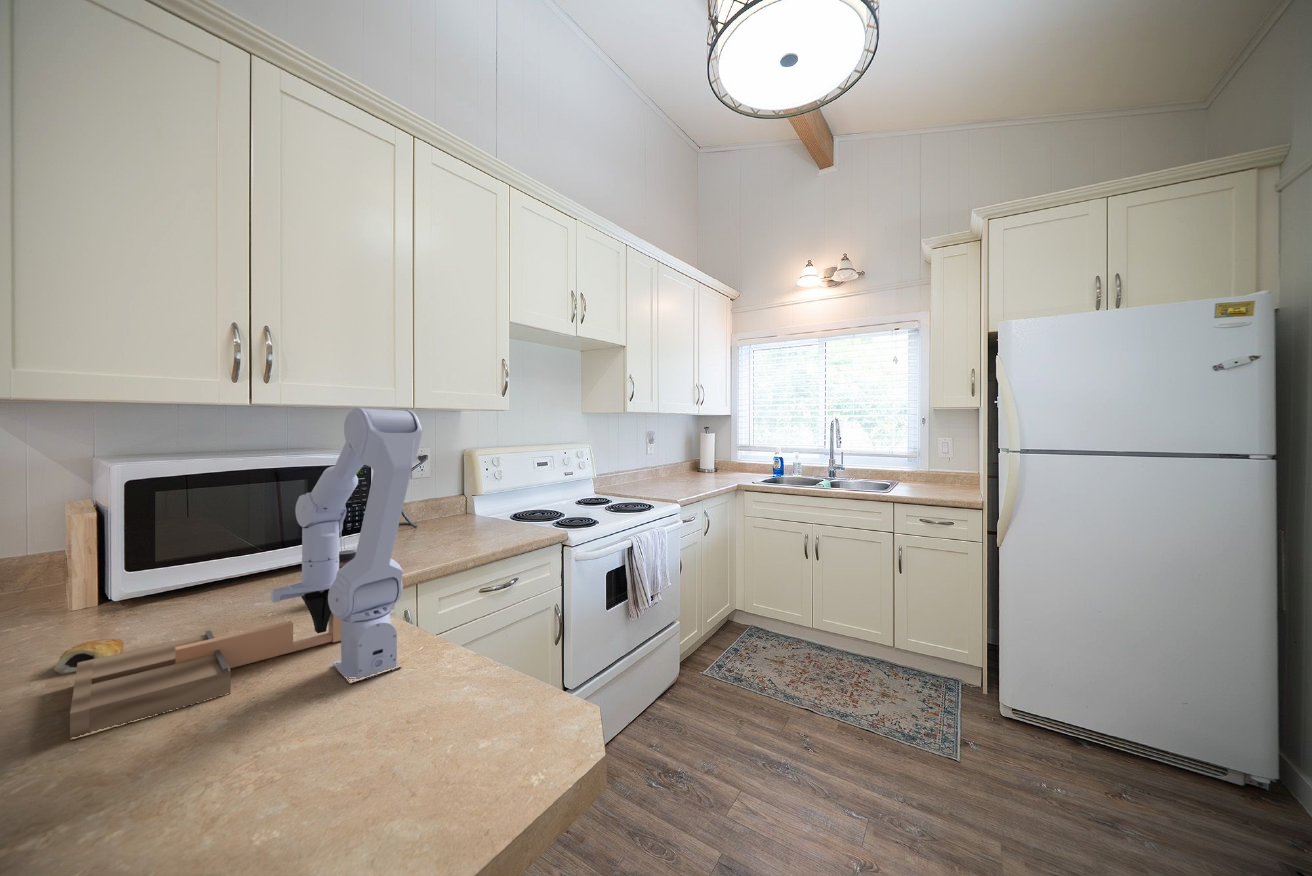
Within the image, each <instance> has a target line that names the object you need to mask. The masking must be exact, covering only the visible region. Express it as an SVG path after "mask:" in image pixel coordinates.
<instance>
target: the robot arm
mask: <svg viewBox="0 0 1312 876" xmlns="http://www.w3.org/2000/svg"><path fill="white" fill-rule="evenodd" d="M422 428H423V427H422V425H421V423H420V420H419V417H418V416H417V414H416V413H415V412H414V411H413V410H410V409H402V410H398V409H396V410H395V409H377V408H363V407H359V406H358V407H353V408H351V409H350V411H349V412H348V414H347V415H346V417H345V420H344V423H343V433H344V439H345V443H344V445H343V447H342V450H341V452H340V454H339V456H338V458H337V460H336V462H335V465H333V466H332V465H331V466H329V467H327V468H325V469H324V471H323V472H322V474H321V475H320V476H319V478H318V480H317V482H316V484H315V486H314V487H313V489H312V490H311V492H306V493H305V494H301V495H300V496H298V498H297V501H296V503H295V509H294V510H295V518H296V521H297V524H298V525H299V526H300V527H301V528H302V529H301V534H302V535H301V541H302V542H301V581H300V582H297V583H294V584H290V585H285V586H283V587H277V588H274V589H270V601H271V603H273V604H274V603H280V602H281V601H285V600H289V599H294V598H300V597H301V599H302V601H303V602H304V604H305V605H306V607H307V610H308V611H309V613H310V616H311V619H312V622H313V627H314V632H315V633H317V634H323V633H325V632H327V630H328V629H327V628H328V621H329V618H330V615H331V613H333V615H335V616H336V617H337V618H339V619H341V640H340V644H341V645H340V655H341V656H340V659H339V660H335V661H334V662H332V666H333V665H334V666H335V667H336V668H337V669H336V668H335V667H334V666H333V667H334V668H335V669H336V671H337V670H339V672H341V674H343V676H345V677H347V679H348V680H349V679H355V678H349V677H356V679H360V678H362V677H367V676H370V675H372V674H377V673H378V672H382V671H384V670H388V669H391V668H394V667H396V666H397V660H398V659H397V658H398V654H397V653H398V651H397V649H398V634H397V629H396V627H395V626H394V625H393V623H392V622H391V612H392V611H393V610H395V609H396V607H395V605H396V604H397V603H398V602H399V600H400V599H401V597H402V594H403V589H404V588H403V574H404V569H403V568H402V567H401V565H400V564H399V563H398V562H397V561H396V560H395V559H393V558H392V555H393V550H394V547H395V542H396V537H397V534H398V529H399V526H400V525H399V524H400V522H401V517H402V512H403V508H404V504H405V500H406V496H407V490H408V486H409V483H410V477H411V474H412V469H413V463H414V462H416V460H417V455H418V451H419V447H420V443H421V440H422V435H423V429H422ZM364 466H367V467H369V468H371V469H372V470H373V474H372V477H371V482H370V488H369V493H368V495H367V502H366V505H365V506H366V507H365V511H364V514H363V520H362V524H361V528H360V532H359V538H358V543H357V547H356V550H355V551H356V555H355V557H354V558H353V559H352V560H351V561H350V562H348V563H347V564H346V565H344V566H343V567H342V568H341V569H339V551H340V532H341V533H342V531H343V529H344V520H345V519H346V515H347V508H346V507H347V506H346V503H347V502H348V500H349V499H350V497H351V496H352V494H353V492H354V491H355V489H356V487H357V486H358V484H359V478H358V476H357V474H358V473H359V472H360V470H361V469H362V468H363V467H364ZM399 666H400V665H399ZM339 672H338V673H339ZM341 674H340V675H341ZM343 676H342V677H343ZM349 681H350V680H349ZM352 681H354V680H352Z"/></svg>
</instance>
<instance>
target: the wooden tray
mask: <svg viewBox="0 0 1312 876" xmlns="http://www.w3.org/2000/svg"><path fill="white" fill-rule="evenodd" d="M213 638H216V637H215V636H214V634H213V632H212V630H211V629H209V630H205V632H204V634H202V635H196V636H193V637H189V638H183V639H180V640H175V641H169V642H165V643H160V644H156V645H151V646H147V647H143V648H138V649H134V650H129V651H125V652H122V653H119V654H115V655H110V656H106V657H101V658H97V659H92V660H87V661H83V662H78V664H77V671H76V672H75V677H74V678H75V679H74V683H73V684H74V685H73V692H72V699H71V704H70V711H69V712H70V713H69V739H70V738H72V737H78V736H80V735H84V734H86V733H91V732H92V731H97V730H99V729H104V728H107V727H112V726H114V725H121V724H123V723H128V722H130V721H134V720H137V719H141V718H145V717H148V716H153V715H155V714H160V715H162V714H161V713H163V712H167V711H169V710H174V709H176V708H181V707H183V706H188V705H191V704H194V705H196V704H195V703H197V702H201V703H203V702H202V701H204V700H207V699H210V698H214V697H218V696H220V695H225V694H227V693H232V690H231V685H232V684H231V682H232V681H231V678H232V674H231V672H232V671H231V668H229V666H228V664H227V662H226V660H225V658H224V656H223V654H222V653H221V651H220V650H215V651H214V655H210V656H206V657H202V658H198V659H194V660H189V661H185V662H181V663H177V664H175V647H178V646H182V645H187V644H191V643H195V642H200V641H204V640H209V639H213ZM225 696H226V695H225ZM218 698H219V697H218ZM191 706H192V705H191ZM188 707H189V706H188ZM181 709H182V708H181ZM174 711H175V710H174ZM167 713H168V712H167Z"/></svg>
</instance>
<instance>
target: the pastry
mask: <svg viewBox="0 0 1312 876" xmlns="http://www.w3.org/2000/svg"><path fill="white" fill-rule="evenodd" d="M124 643H125V642H124V641H122V639H119V638H117V639H116V638H112V639H110V638H101V639H96V640H91V641H84V642H82V643H80V644H76V645H74V646H72V647H71V648H70V649H67V650H65V651H64V652H63V653H62V654H61V656H60V657H59V660H58V661H57V663H56V664H55V665H54V666H53V670H54V671H55V672H57V673H58V674H59V675H60V674H69V673H76V671H77V664H78V662H83V661H87V660H92V659H97V658H101V657H106V656H110V655H115V654H119V653H123V651H124V645H125V644H124Z"/></svg>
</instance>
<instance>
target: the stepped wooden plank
mask: <svg viewBox="0 0 1312 876" xmlns="http://www.w3.org/2000/svg"><path fill="white" fill-rule="evenodd" d="M327 628H328V629H327V633H321V634H318V635H315V636H311V637H307V638H303V639H299V640H298V639H297V640H295V641H294V622H293V621H292V620H289V621H285V622H279V623H276V624H271V625H267V626H263V627H258V628H254V629H251V630H250V629H249V630H245V631H241V632H236V633H232V634H228V635H227V634H226V635H224V636H223V635H222V636H219V637H215V638H213V639H209V640H204V641H200V642H195V643H191V644H187V645H182V646H178V647H175V664H177V663H181V662H185V661H189V660H194V659H198V658H202V657H206V656H210V655H214V651H215V650H220V651H221V653H222V654H223V656H224V658H225V660H226V662H227V664H228V666H229V668H230V669H232V668H233V669H234V668H236V667H240V666H244V665H247V664H251V663H255V662H259V661H263V660H267V659H270V658H274V657H278V656H279V657H280V656H282V655H286V654H289V653H293V652H297V651H301V650H304V649H308V648H311V647H316V646H320V645H324V644H327V643H331V642H332V643H337V642H341V619H339V618H337V617H336V616H335V615H333V613H331V615H330V618H329V621H328V625H327Z"/></svg>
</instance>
